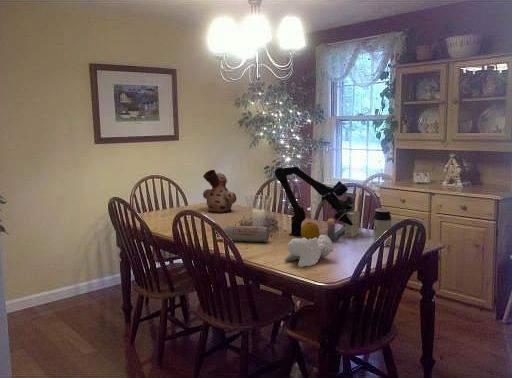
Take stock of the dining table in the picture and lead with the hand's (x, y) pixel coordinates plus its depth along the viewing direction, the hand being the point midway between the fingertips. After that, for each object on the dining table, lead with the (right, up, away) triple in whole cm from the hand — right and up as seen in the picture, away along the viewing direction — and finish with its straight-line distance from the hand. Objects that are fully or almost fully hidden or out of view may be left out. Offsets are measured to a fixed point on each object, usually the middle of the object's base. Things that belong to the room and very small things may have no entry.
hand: (354, 223), depth 262 cm
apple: (-26, -10, -14) cm, 31 cm away
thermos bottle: (-47, -5, -8) cm, 48 cm away
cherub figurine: (-30, -14, -43) cm, 54 cm away
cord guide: (-8, -6, +5) cm, 11 cm away
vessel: (-80, +2, +77) cm, 111 cm away
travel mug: (+10, -10, -18) cm, 23 cm away
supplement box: (-1, -7, +2) cm, 7 cm away
